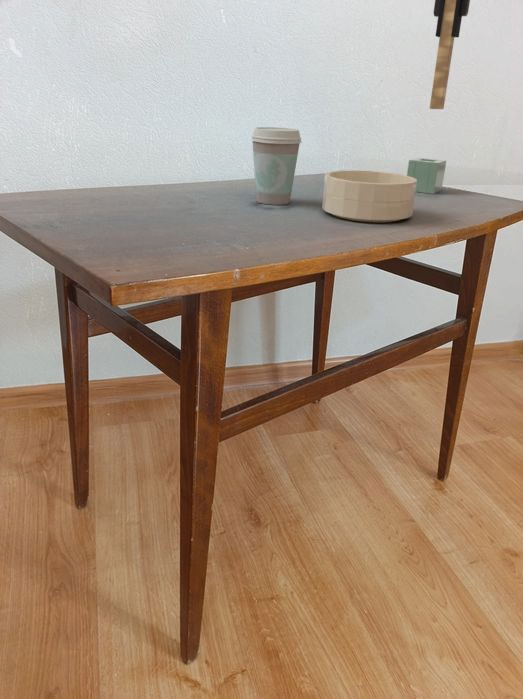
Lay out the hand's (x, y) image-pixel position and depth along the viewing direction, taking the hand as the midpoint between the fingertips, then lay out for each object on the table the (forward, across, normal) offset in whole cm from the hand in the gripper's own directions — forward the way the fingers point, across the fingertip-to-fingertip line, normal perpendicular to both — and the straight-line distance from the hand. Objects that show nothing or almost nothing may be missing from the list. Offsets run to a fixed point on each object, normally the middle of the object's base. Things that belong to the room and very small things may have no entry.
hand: (447, 36), depth 110 cm
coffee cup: (+28, -17, -33) cm, 47 cm away
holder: (+28, 0, 0) cm, 28 cm away
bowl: (+28, 0, -32) cm, 42 cm away
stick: (+12, 0, 0) cm, 12 cm away
